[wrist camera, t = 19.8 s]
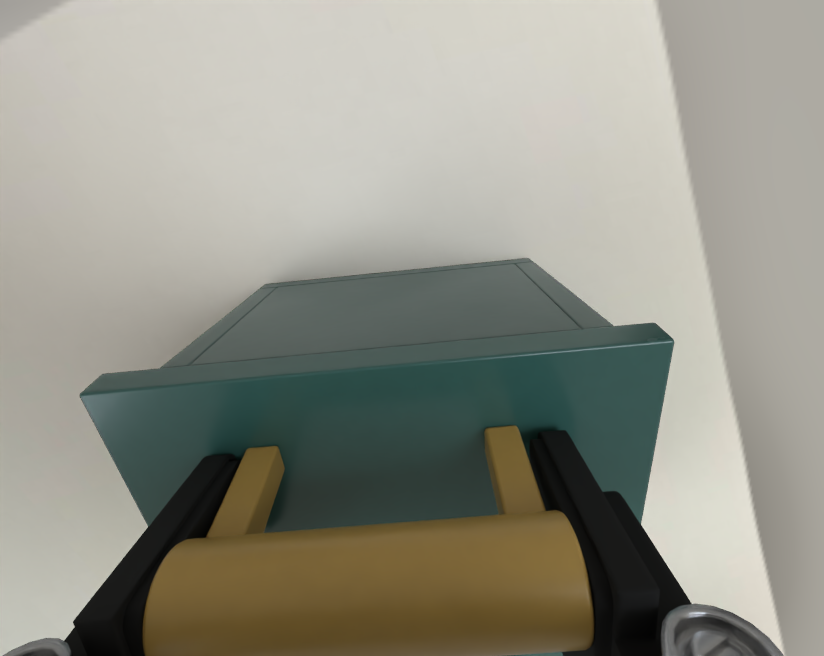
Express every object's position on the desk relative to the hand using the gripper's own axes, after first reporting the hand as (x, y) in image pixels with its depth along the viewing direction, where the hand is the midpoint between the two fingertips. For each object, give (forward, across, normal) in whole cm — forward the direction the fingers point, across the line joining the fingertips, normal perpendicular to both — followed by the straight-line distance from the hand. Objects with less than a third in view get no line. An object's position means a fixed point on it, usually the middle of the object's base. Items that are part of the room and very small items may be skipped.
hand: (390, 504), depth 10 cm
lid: (+2, 0, +4) cm, 4 cm away
